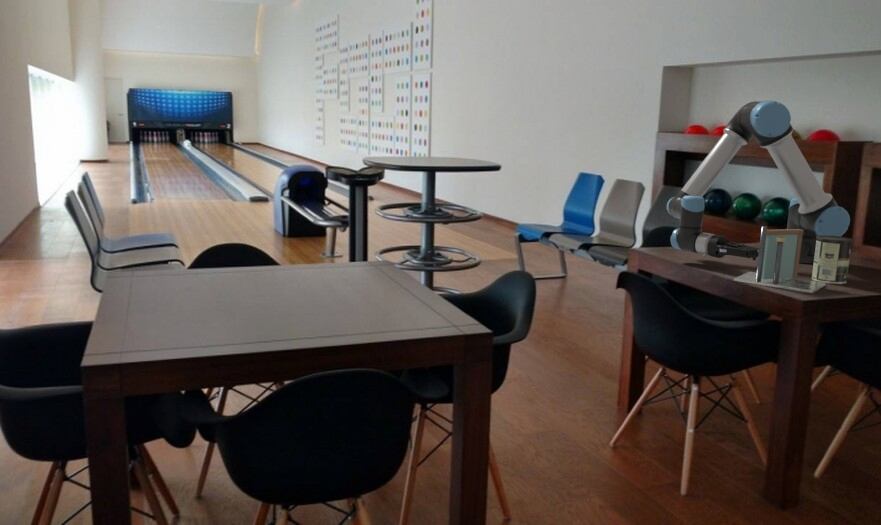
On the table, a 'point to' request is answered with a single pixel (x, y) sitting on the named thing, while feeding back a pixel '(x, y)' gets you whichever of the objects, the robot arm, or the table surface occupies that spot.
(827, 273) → the coffee can
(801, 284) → the gate frame
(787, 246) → the panel
